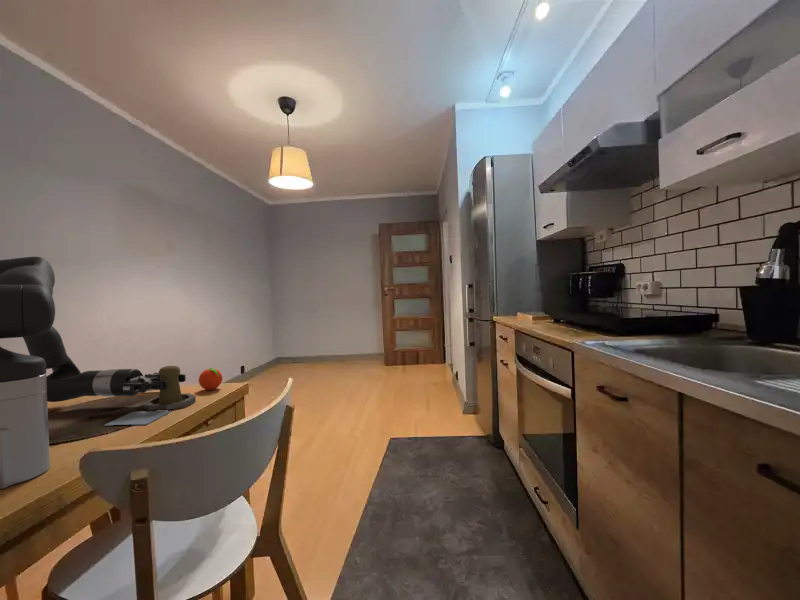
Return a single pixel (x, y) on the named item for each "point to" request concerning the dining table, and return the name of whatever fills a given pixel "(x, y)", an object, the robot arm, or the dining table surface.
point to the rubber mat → (138, 418)
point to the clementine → (210, 379)
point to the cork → (170, 385)
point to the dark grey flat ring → (153, 406)
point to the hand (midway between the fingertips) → (176, 381)
